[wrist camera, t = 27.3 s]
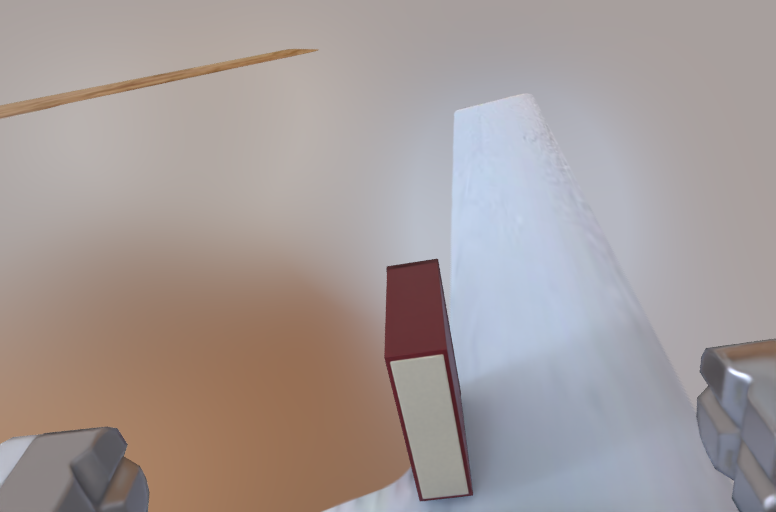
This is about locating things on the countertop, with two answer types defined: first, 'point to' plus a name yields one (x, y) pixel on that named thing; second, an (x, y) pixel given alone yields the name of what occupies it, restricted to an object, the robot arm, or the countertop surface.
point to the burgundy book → (426, 380)
